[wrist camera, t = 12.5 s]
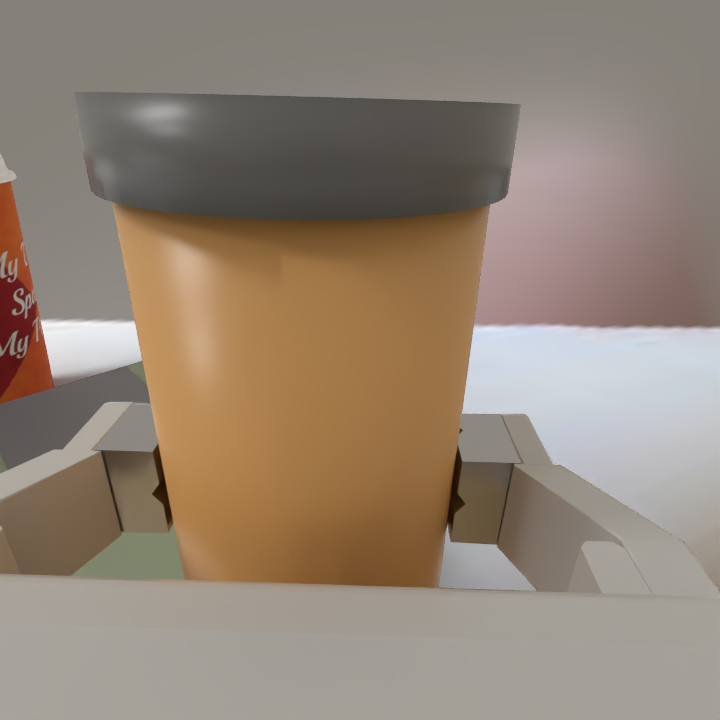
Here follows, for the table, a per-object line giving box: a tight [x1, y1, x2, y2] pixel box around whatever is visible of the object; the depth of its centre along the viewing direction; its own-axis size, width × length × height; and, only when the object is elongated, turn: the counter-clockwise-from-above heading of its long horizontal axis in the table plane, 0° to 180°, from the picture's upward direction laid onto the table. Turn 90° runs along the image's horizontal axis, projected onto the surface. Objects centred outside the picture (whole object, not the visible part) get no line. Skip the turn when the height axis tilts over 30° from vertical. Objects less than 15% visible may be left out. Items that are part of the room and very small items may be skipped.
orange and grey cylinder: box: [71, 92, 521, 588], centre depth 10 cm, size 5×5×14 cm
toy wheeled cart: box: [0, 361, 184, 580], centre depth 22 cm, size 18×16×4 cm
